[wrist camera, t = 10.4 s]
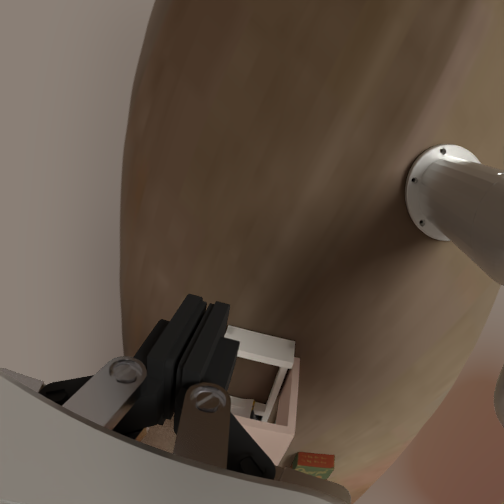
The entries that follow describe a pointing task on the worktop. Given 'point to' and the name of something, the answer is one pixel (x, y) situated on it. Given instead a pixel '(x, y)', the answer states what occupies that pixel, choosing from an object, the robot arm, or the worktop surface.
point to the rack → (265, 352)
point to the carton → (314, 464)
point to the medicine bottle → (246, 410)
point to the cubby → (277, 419)
